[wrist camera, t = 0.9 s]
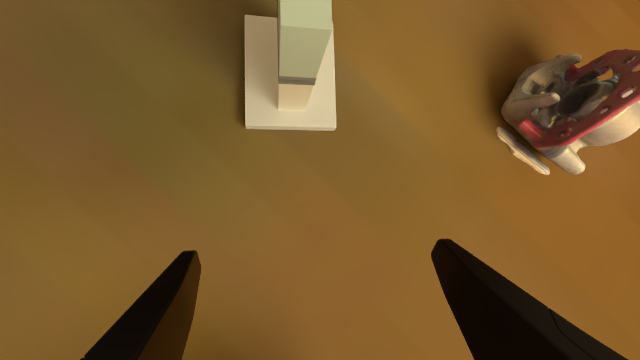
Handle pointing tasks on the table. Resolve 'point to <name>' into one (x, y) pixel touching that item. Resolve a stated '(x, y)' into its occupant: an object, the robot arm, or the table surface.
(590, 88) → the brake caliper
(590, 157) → the table surface
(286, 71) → the pale green block
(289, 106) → the cream stepped block
